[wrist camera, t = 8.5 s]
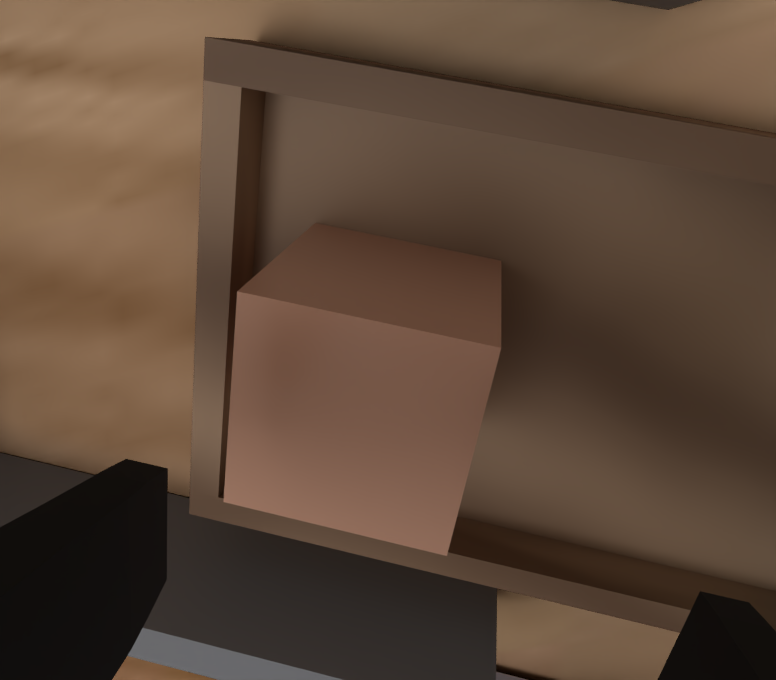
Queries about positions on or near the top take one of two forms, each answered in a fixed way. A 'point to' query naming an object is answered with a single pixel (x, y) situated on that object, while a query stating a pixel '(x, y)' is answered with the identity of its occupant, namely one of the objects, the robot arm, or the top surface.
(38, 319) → the top surface
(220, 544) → the organiser housing
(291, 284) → the terracotta block
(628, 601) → the tray
